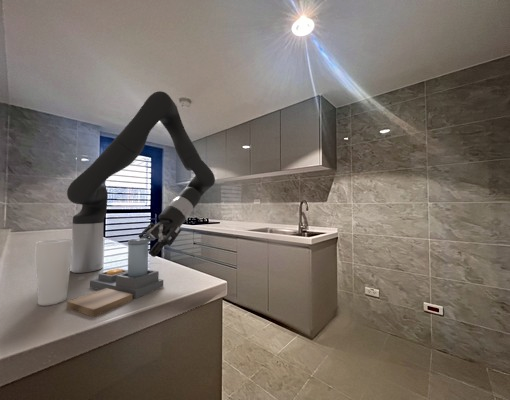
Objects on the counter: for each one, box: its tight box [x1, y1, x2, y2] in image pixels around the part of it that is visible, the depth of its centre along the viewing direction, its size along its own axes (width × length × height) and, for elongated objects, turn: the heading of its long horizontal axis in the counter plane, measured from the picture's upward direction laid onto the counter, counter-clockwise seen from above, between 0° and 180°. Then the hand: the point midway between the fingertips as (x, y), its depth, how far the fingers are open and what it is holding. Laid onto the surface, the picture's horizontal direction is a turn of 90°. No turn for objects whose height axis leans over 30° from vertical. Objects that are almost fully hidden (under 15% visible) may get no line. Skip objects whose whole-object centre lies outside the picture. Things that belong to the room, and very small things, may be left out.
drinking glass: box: [34, 238, 72, 307], centre depth 54 cm, size 7×7×15 cm
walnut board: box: [66, 288, 133, 318], centre depth 53 cm, size 10×9×2 cm
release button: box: [106, 268, 122, 275], centre depth 66 cm, size 4×4×2 cm
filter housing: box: [89, 269, 164, 299], centre depth 64 cm, size 19×9×4 cm, turn 67°
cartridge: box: [127, 238, 149, 278], centre depth 62 cm, size 5×5×12 cm
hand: (142, 253), depth 63 cm, fingers open, 8 cm apart
